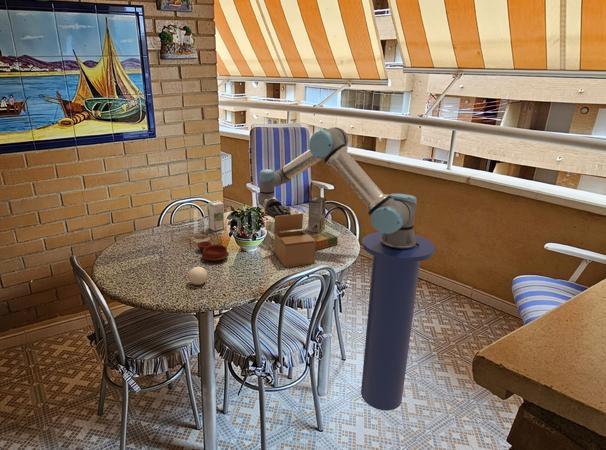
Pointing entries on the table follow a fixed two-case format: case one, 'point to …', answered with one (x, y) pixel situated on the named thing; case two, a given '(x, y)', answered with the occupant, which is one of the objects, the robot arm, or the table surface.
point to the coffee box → (316, 214)
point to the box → (294, 248)
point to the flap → (288, 222)
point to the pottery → (213, 251)
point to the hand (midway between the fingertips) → (288, 221)
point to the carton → (324, 240)
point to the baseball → (198, 275)
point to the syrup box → (216, 215)
